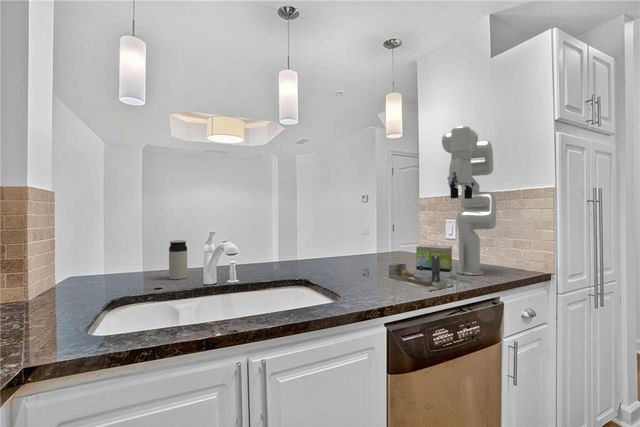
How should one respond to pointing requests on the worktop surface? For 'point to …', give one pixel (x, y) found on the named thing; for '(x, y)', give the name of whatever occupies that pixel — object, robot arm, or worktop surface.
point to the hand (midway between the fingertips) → (461, 198)
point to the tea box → (425, 259)
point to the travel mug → (178, 259)
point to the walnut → (405, 273)
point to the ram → (433, 274)
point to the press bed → (396, 276)
